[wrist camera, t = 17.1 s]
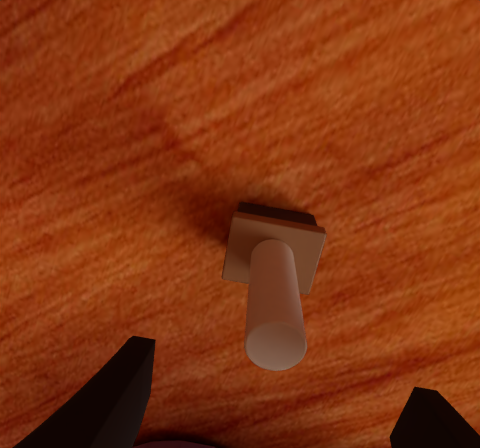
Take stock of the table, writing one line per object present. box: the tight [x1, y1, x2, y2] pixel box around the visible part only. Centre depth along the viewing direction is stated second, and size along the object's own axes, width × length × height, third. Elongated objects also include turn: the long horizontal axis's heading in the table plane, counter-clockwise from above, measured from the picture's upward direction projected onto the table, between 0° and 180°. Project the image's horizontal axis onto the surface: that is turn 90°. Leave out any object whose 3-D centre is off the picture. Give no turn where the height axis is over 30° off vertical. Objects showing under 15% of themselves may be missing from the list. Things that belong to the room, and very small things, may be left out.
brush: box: [222, 202, 327, 370], centre depth 15 cm, size 4×3×9 cm
